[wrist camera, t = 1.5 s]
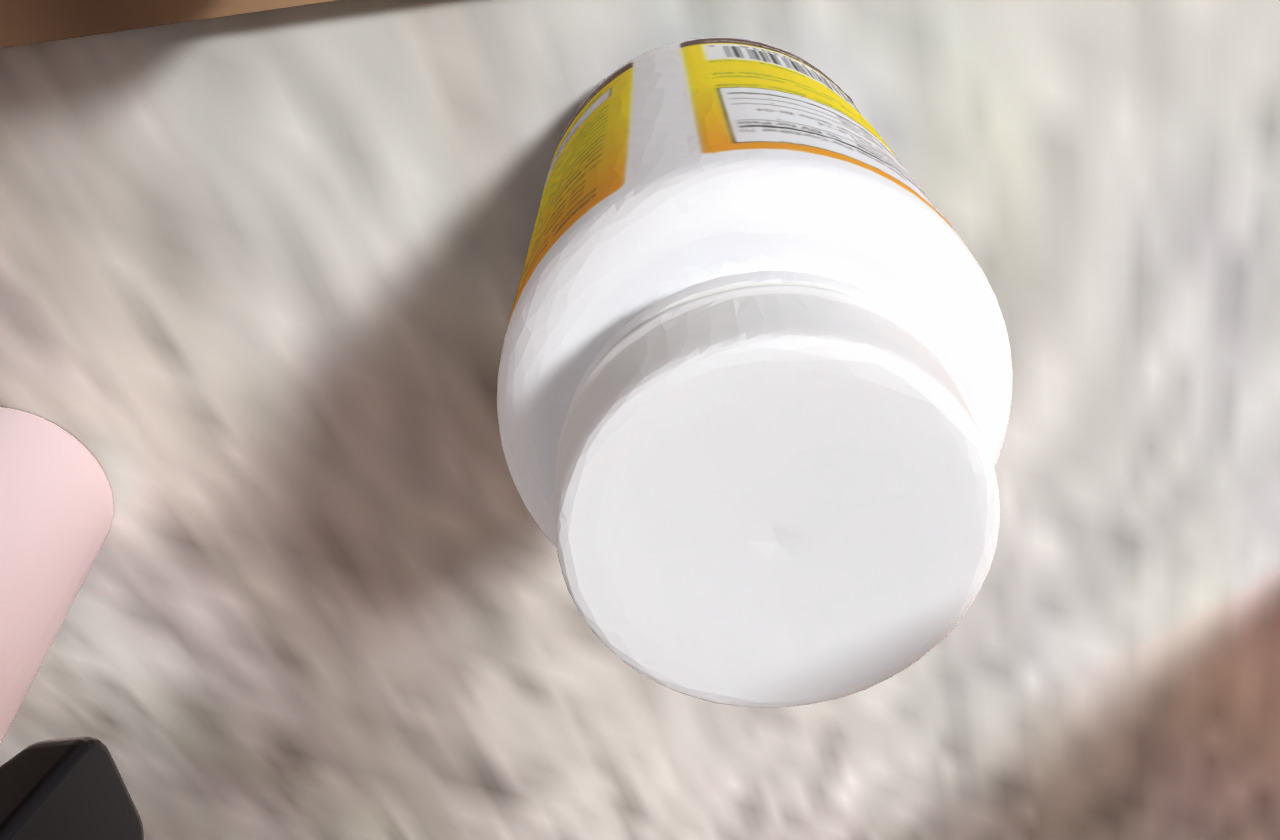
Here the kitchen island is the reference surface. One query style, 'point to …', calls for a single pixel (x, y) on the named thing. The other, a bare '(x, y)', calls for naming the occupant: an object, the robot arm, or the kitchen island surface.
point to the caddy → (112, 16)
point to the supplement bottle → (753, 383)
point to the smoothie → (42, 542)
